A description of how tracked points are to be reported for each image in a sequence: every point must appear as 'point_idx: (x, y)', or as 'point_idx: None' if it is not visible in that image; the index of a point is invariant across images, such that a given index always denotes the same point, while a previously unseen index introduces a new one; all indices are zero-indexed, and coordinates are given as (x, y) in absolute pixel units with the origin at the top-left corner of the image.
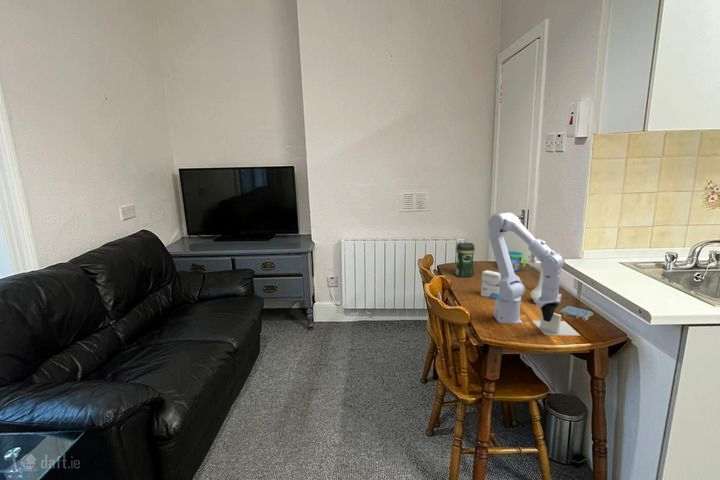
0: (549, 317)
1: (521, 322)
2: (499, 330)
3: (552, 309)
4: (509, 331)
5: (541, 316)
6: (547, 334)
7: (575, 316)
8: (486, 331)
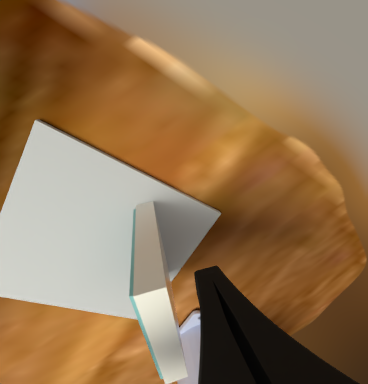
0: (238, 290)
1: (198, 314)
2: (297, 287)
3: (304, 377)
4: (283, 275)
5: (178, 325)
6: (209, 211)
7: None
8: (327, 289)
